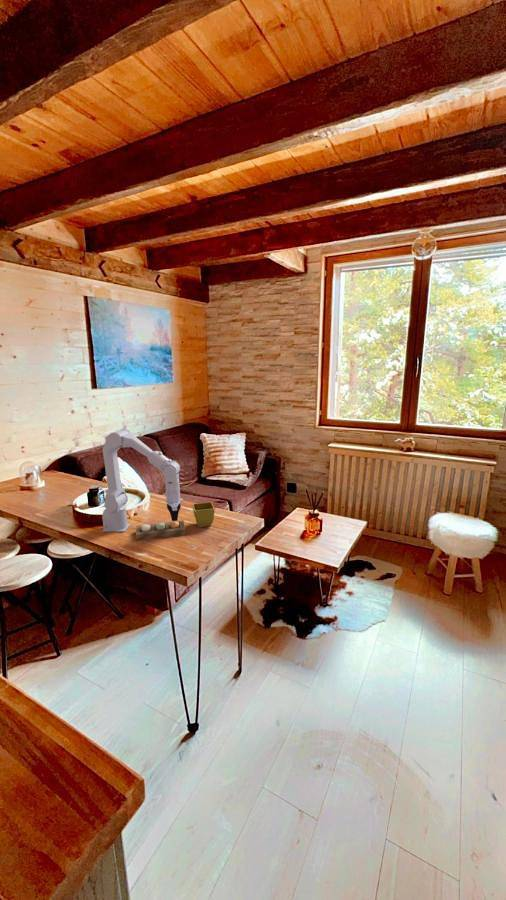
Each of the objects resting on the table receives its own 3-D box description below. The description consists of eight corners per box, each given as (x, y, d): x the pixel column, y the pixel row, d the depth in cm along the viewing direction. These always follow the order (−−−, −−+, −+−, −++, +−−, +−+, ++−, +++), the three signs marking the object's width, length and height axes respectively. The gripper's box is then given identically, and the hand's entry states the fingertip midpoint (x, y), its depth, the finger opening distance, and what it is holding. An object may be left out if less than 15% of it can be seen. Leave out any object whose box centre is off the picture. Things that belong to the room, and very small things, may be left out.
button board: (136, 540, 154) (135, 535, 154) (136, 531, 163) (136, 525, 162) (185, 534, 159) (185, 529, 159) (183, 525, 168) (183, 520, 167)
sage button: (156, 532, 159) (156, 526, 158) (156, 528, 162) (155, 523, 161) (165, 531, 160) (164, 525, 159) (164, 527, 163) (164, 522, 162)
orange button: (171, 530, 160) (170, 524, 160) (170, 526, 164) (170, 521, 163) (179, 529, 161) (179, 524, 160) (178, 525, 164) (178, 520, 164)
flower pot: (195, 530, 164) (194, 510, 162) (193, 522, 172) (192, 503, 170) (215, 527, 166) (214, 508, 164) (212, 519, 174) (211, 501, 172)
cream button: (141, 533, 157) (141, 528, 157) (141, 530, 161) (141, 524, 160) (150, 532, 158) (150, 527, 157) (150, 529, 161) (150, 523, 161)
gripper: (183, 495, 152) (185, 526, 156) (181, 484, 166) (182, 512, 169) (166, 496, 151) (168, 528, 154) (164, 485, 164) (166, 514, 168)
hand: (174, 520), depth 161 cm, fingers closed
